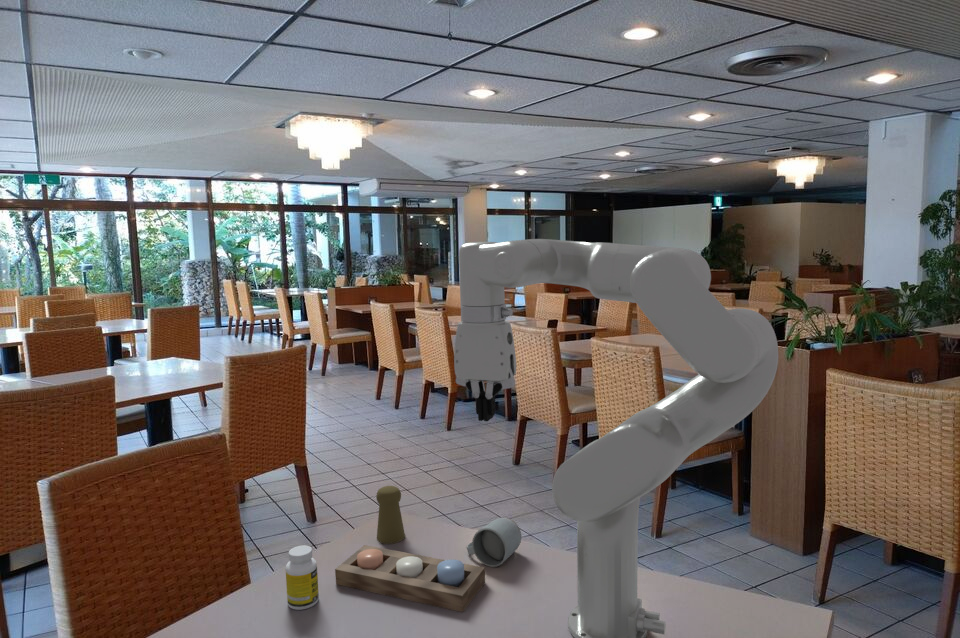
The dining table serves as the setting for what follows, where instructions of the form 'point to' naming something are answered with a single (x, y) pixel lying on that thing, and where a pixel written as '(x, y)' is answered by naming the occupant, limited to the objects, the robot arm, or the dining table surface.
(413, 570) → the cream button
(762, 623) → the dining table surface
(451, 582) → the blue rounded knob
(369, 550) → the pink rounded dome
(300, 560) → the supplement bottle
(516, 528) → the ceramic mug
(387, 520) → the olive game pawn
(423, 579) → the wooden compartment tray
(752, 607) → the dining table surface
